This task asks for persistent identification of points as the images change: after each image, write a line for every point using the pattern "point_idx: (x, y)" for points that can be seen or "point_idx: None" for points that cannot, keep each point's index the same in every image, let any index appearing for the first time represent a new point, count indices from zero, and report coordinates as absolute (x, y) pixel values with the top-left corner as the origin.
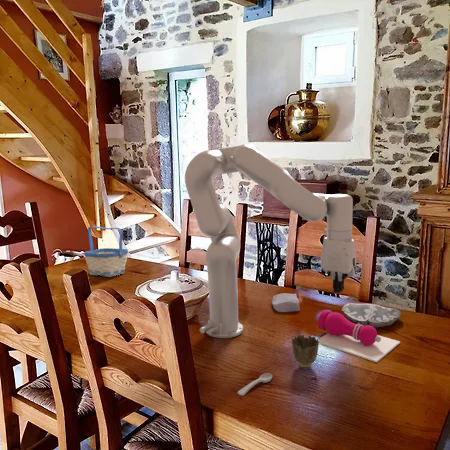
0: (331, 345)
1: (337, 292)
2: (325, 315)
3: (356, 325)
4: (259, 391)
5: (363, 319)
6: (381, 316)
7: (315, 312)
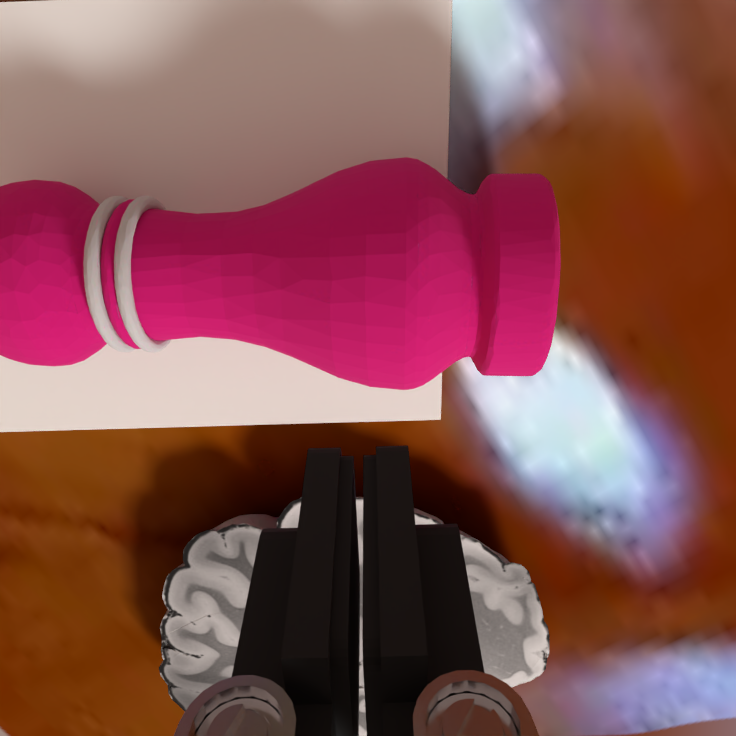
0: (278, 2)
1: (317, 450)
2: (492, 257)
3: (119, 276)
4: None
5: None
6: None
7: (720, 490)
